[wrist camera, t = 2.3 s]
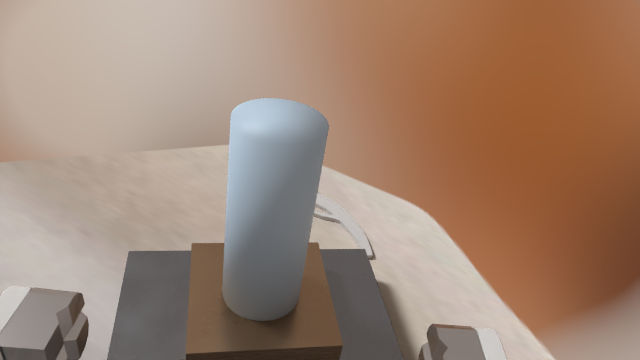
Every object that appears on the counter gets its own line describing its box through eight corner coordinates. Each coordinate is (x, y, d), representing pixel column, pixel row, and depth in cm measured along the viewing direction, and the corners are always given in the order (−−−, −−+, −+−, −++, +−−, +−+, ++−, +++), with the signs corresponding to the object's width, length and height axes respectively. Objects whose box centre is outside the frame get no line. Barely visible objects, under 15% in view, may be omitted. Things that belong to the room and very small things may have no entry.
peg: (222, 322, 26) (232, 143, 20) (221, 263, 30) (229, 95, 24) (304, 319, 27) (337, 147, 21) (294, 262, 31) (320, 100, 25)
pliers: (250, 258, 35) (223, 147, 47) (249, 274, 36) (222, 161, 48) (378, 246, 38) (323, 144, 50) (373, 261, 39) (320, 157, 51)
